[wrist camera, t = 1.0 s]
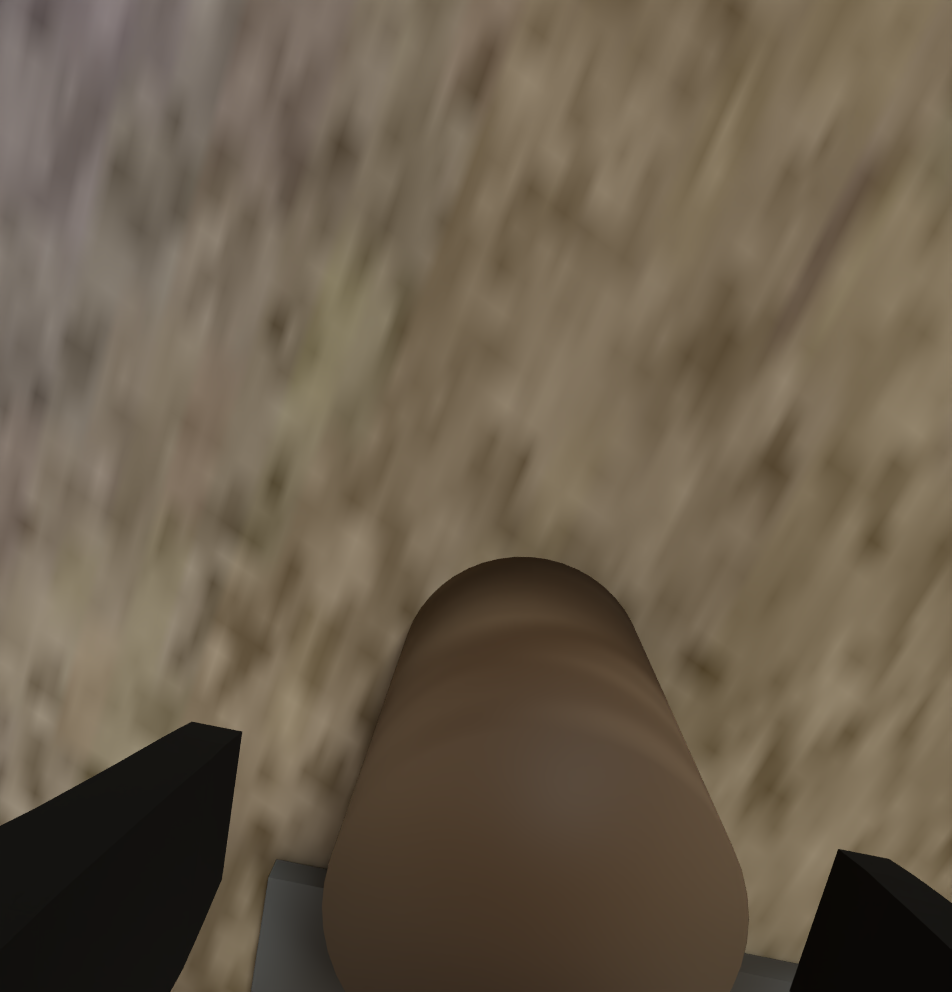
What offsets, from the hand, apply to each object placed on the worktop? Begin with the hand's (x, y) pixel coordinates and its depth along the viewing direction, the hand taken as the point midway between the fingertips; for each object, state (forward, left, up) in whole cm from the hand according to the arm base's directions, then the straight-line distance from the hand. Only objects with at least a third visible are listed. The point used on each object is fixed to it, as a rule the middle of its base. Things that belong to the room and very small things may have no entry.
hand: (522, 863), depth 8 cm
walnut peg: (0, 0, -5) cm, 5 cm away
